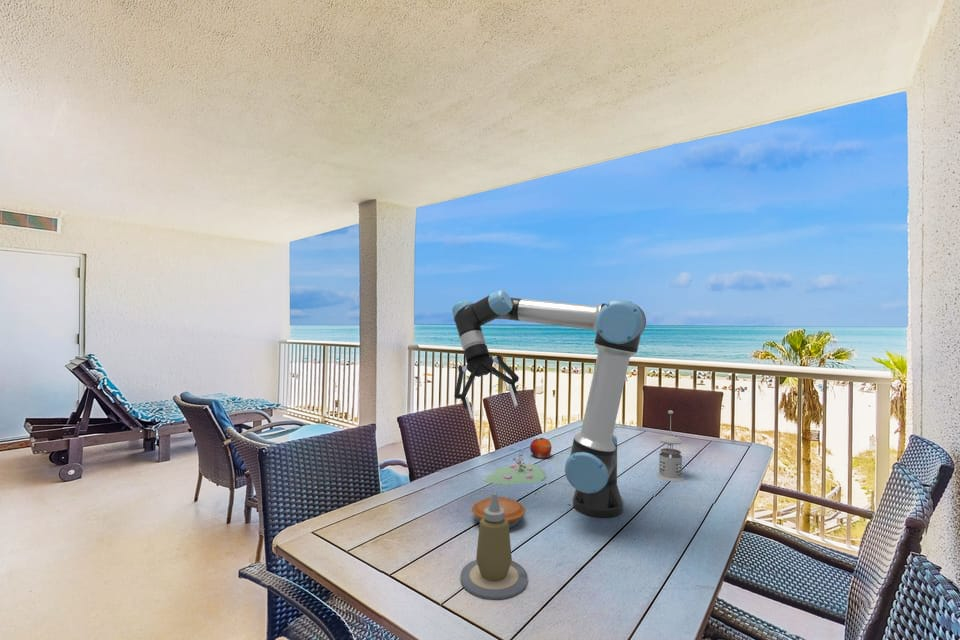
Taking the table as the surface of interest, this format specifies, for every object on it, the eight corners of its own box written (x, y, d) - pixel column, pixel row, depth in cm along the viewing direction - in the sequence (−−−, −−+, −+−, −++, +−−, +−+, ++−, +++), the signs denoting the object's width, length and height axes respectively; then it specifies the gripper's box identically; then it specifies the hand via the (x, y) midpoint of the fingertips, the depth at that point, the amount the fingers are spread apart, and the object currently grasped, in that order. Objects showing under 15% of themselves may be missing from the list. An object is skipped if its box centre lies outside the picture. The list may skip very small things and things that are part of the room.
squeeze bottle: (509, 587, 94) (509, 502, 94) (472, 582, 96) (472, 499, 96) (514, 566, 102) (514, 489, 102) (479, 562, 104) (480, 486, 104)
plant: (514, 493, 150) (514, 467, 150) (471, 478, 164) (472, 454, 164) (556, 475, 167) (556, 451, 168) (514, 463, 182) (515, 441, 182)
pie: (480, 536, 118) (480, 518, 118) (466, 512, 133) (466, 496, 133) (533, 529, 122) (533, 511, 123) (514, 507, 137) (514, 491, 137)
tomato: (553, 460, 185) (553, 440, 185) (531, 459, 185) (531, 440, 185) (549, 453, 194) (549, 435, 194) (529, 453, 194) (529, 435, 194)
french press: (656, 479, 163) (656, 411, 163) (656, 469, 173) (656, 406, 173) (685, 483, 159) (685, 413, 159) (684, 473, 170) (684, 408, 170)
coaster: (534, 567, 103) (534, 564, 103) (517, 606, 89) (517, 601, 89) (474, 555, 108) (474, 552, 108) (449, 590, 94) (449, 586, 94)
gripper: (511, 341, 143) (532, 403, 136) (437, 361, 141) (454, 426, 133) (513, 332, 137) (535, 397, 129) (435, 354, 134) (453, 422, 126)
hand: (494, 412), depth 131 cm, fingers open, 13 cm apart
